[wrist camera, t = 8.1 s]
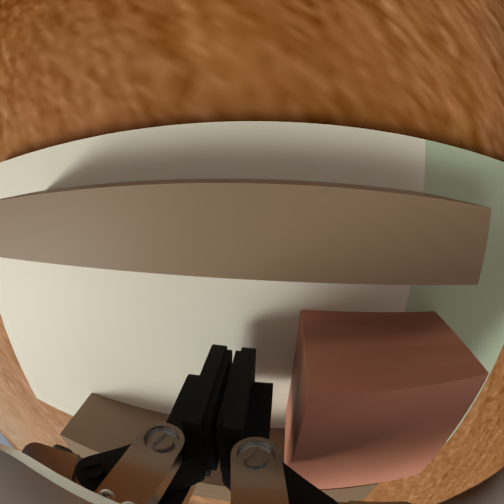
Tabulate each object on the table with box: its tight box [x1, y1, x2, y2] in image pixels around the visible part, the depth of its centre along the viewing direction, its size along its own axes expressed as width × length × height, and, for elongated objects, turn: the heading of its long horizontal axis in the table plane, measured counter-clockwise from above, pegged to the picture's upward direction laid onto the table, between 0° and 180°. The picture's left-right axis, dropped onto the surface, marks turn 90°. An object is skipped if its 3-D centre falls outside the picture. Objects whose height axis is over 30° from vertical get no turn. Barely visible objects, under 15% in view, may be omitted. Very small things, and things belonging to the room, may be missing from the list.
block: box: [284, 310, 489, 489], centre depth 9 cm, size 6×6×4 cm
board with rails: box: [0, 121, 504, 502], centre depth 10 cm, size 18×32×6 cm, turn 89°
